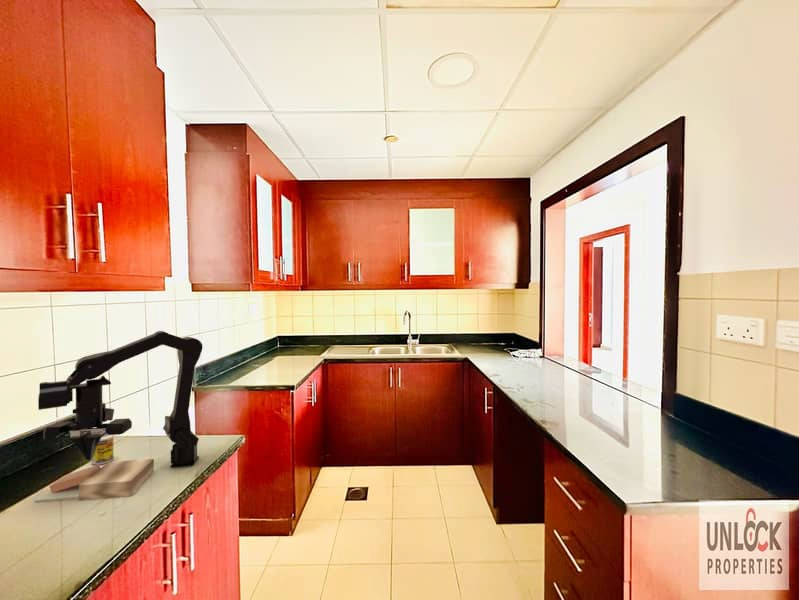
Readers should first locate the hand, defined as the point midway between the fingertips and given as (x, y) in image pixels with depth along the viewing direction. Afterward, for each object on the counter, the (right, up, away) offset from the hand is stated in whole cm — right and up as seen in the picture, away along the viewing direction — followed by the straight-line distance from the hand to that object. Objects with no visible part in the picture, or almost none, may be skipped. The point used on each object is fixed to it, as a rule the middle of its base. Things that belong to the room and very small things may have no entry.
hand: (89, 459), depth 106 cm
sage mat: (-4, -8, -1) cm, 9 cm away
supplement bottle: (-9, -8, +17) cm, 21 cm away
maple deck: (+7, -8, +2) cm, 11 cm away
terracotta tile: (-3, -6, 0) cm, 7 cm away
